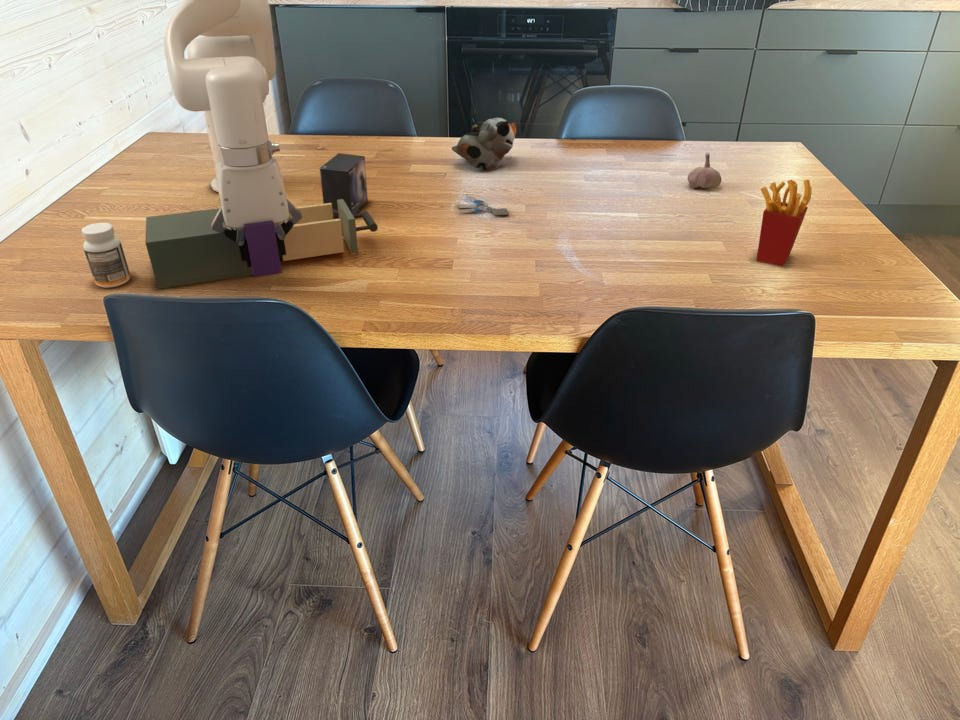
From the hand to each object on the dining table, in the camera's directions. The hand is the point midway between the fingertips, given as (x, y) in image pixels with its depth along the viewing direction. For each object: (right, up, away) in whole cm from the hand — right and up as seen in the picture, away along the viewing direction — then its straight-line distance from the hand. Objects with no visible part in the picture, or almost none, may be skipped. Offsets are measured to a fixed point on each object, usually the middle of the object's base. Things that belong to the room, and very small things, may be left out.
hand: (264, 260), depth 118 cm
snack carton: (0, -1, +1) cm, 1 cm away
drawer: (+5, +4, +14) cm, 15 cm away
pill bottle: (-27, -3, +4) cm, 28 cm away
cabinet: (-11, 0, +9) cm, 14 cm away
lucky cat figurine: (+37, +33, +59) cm, 77 cm away
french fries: (+91, +3, +15) cm, 92 cm away
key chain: (+36, +15, +32) cm, 50 cm away
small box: (+8, +15, +32) cm, 36 cm away
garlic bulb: (+88, +24, +46) cm, 102 cm away
